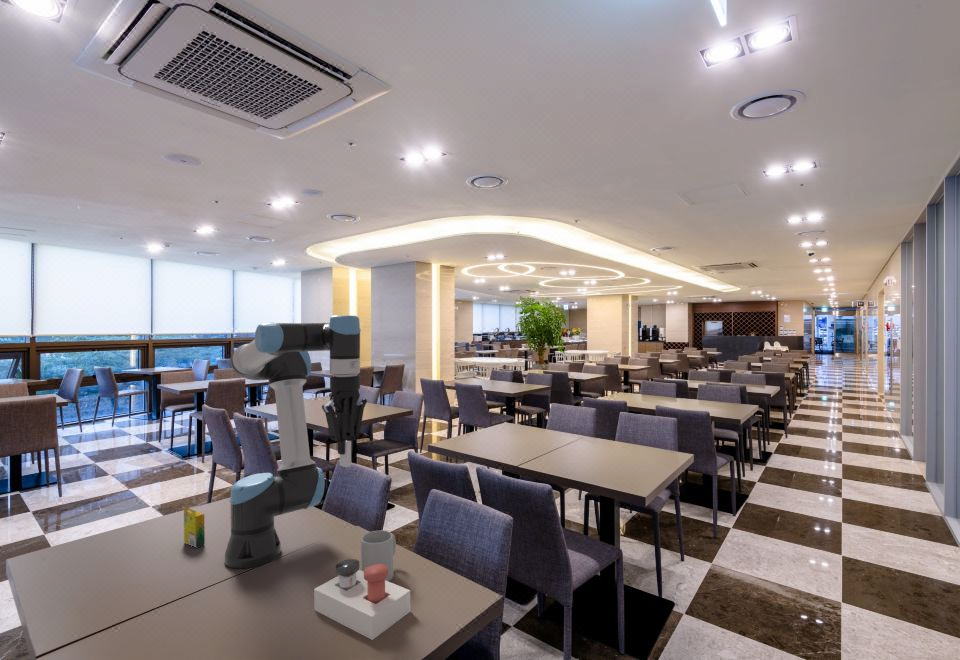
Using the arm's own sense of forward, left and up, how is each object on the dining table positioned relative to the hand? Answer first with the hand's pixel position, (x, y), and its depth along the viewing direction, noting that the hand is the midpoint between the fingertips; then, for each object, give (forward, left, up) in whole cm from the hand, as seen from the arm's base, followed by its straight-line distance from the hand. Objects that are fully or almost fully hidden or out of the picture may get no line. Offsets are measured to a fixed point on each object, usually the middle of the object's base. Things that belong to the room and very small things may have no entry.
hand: (345, 465), depth 119 cm
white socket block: (+10, -4, -32) cm, 34 cm away
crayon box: (-63, -9, -32) cm, 71 cm away
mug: (+2, +10, -32) cm, 34 cm away
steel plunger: (+5, -4, -32) cm, 32 cm away
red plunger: (+15, -4, -30) cm, 34 cm away
